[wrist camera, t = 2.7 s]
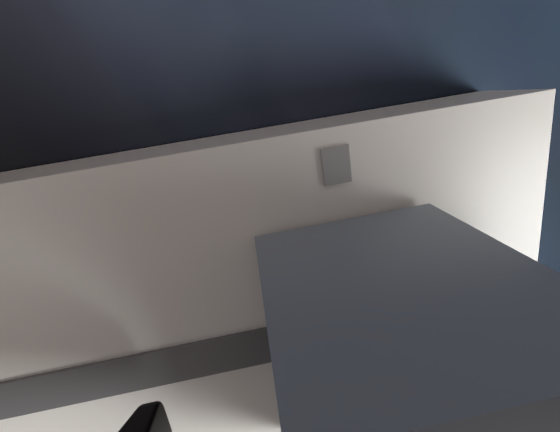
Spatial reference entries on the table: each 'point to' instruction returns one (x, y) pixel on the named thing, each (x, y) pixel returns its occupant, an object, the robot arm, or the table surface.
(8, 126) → the table surface
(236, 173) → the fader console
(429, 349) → the fader tab
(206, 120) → the table surface
